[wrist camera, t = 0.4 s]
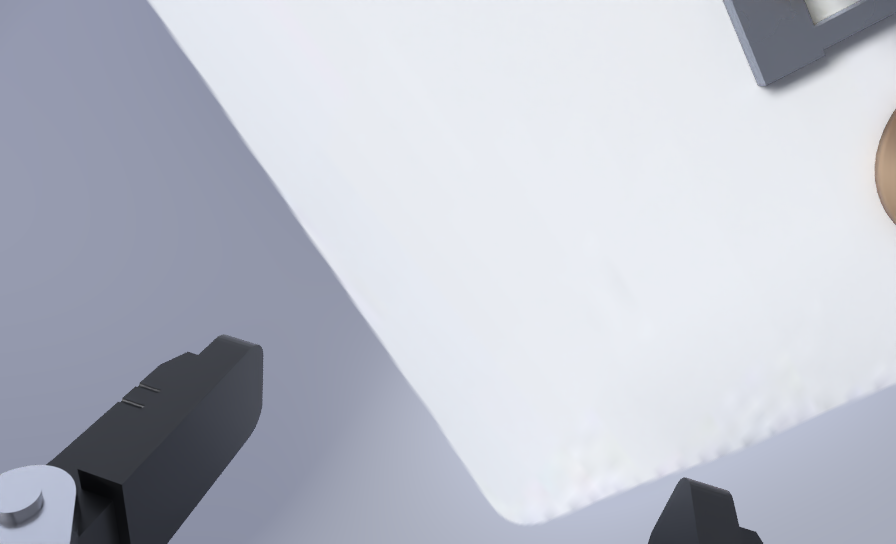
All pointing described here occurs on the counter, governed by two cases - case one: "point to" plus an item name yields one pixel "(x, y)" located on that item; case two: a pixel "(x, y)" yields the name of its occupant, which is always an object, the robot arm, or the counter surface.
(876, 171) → the walnut pad
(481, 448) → the counter surface
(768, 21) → the grey rectangular frame
